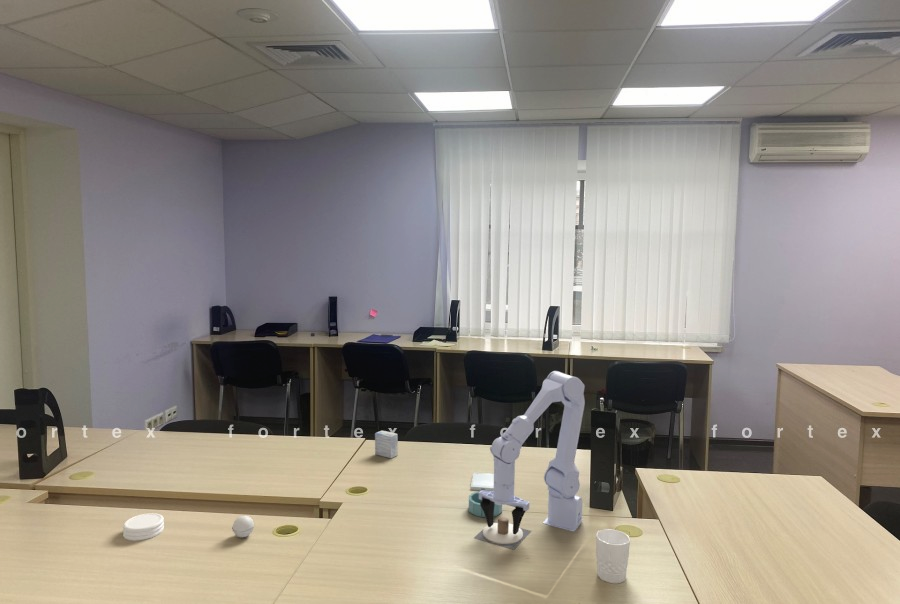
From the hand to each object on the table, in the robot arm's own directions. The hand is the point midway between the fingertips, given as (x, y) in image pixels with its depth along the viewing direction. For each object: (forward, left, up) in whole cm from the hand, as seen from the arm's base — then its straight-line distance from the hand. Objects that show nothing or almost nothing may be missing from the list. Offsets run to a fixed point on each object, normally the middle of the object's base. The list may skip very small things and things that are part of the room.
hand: (503, 529), depth 159 cm
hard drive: (+21, -30, -3) cm, 37 cm away
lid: (0, 0, -2) cm, 2 cm away
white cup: (-31, +4, -2) cm, 31 cm away
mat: (0, 0, -2) cm, 2 cm away
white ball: (+60, +38, -2) cm, 71 cm away
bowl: (+11, -11, -2) cm, 16 cm away
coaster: (+86, +50, -2) cm, 100 cm away
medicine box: (+65, -34, -2) cm, 73 cm away
